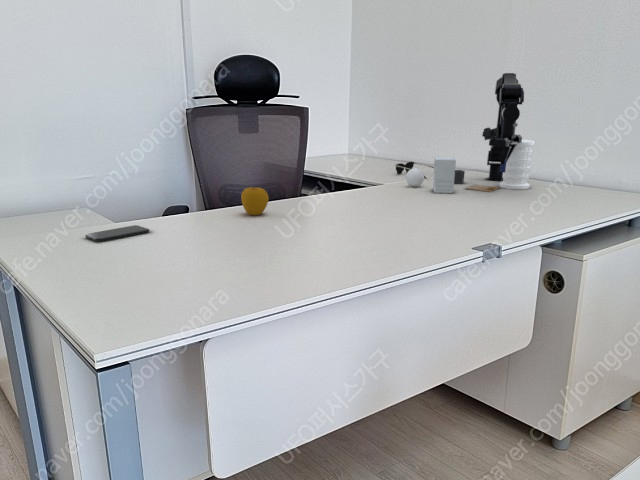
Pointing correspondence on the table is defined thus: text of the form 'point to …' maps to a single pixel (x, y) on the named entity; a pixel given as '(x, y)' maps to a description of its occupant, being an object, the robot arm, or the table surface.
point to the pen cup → (459, 177)
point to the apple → (254, 200)
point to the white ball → (415, 177)
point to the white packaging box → (444, 174)
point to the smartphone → (117, 233)
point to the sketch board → (482, 188)
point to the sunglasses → (406, 167)
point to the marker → (503, 167)
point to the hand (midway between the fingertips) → (503, 163)
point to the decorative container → (518, 166)
